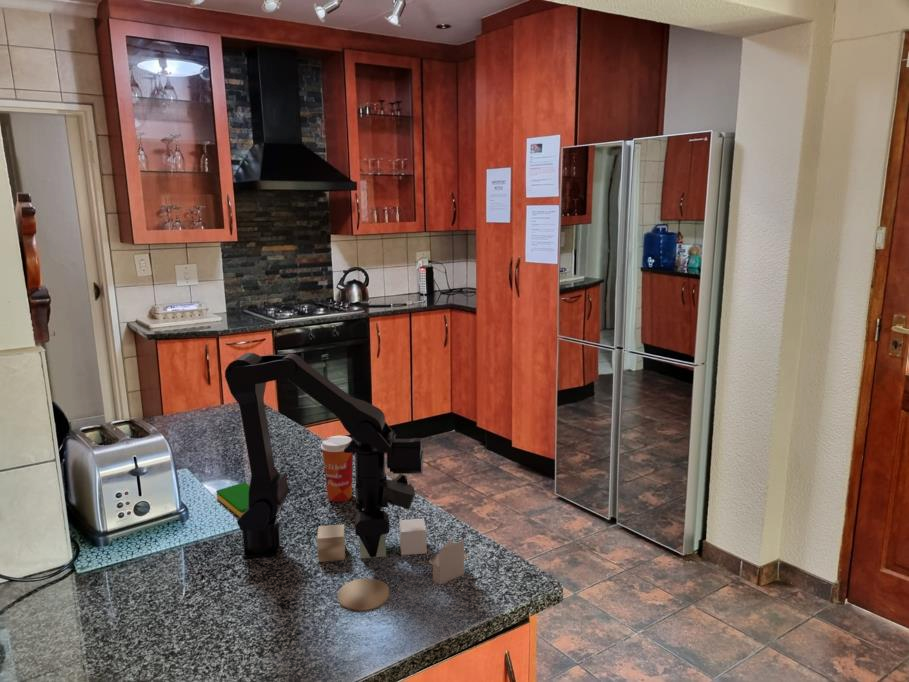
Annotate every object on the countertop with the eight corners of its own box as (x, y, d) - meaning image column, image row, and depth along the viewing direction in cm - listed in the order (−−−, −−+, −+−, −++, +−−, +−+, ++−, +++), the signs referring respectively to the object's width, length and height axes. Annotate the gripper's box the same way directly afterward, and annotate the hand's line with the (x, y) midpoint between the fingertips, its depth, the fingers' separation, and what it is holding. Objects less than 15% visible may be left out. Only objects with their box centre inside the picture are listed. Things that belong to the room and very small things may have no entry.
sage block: (360, 558, 127) (359, 535, 126) (360, 546, 132) (359, 523, 131) (386, 556, 128) (385, 533, 127) (384, 544, 133) (384, 521, 132)
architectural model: (428, 579, 121) (427, 542, 120) (457, 566, 125) (457, 530, 124) (439, 587, 119) (438, 549, 117) (469, 574, 123) (469, 538, 121)
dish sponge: (241, 520, 144) (240, 510, 143) (216, 499, 154) (215, 490, 154) (271, 510, 149) (270, 500, 148) (245, 490, 159) (244, 481, 158)
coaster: (337, 612, 110) (336, 610, 110) (338, 583, 119) (338, 580, 119) (390, 608, 112) (390, 605, 112) (388, 578, 120) (387, 576, 120)
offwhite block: (401, 555, 129) (400, 532, 128) (399, 542, 133) (399, 520, 132) (426, 553, 129) (426, 530, 128) (424, 541, 134) (423, 518, 133)
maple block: (318, 562, 126) (317, 538, 125) (319, 549, 131) (318, 526, 130) (344, 560, 127) (343, 536, 126) (345, 547, 132) (344, 524, 131)
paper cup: (316, 500, 152) (313, 443, 149) (334, 487, 159) (332, 433, 156) (345, 506, 149) (343, 448, 147) (362, 492, 156) (360, 437, 154)
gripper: (416, 490, 119) (417, 567, 122) (408, 452, 137) (409, 521, 140) (354, 494, 117) (357, 573, 121) (354, 455, 135) (356, 524, 139)
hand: (372, 546), depth 130 cm, fingers open, 8 cm apart
